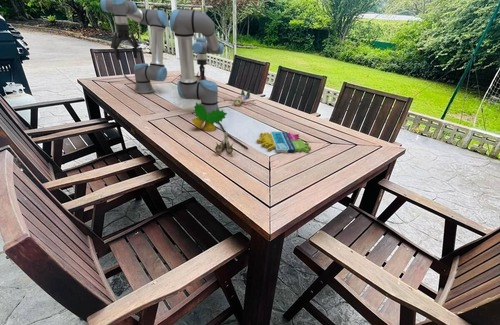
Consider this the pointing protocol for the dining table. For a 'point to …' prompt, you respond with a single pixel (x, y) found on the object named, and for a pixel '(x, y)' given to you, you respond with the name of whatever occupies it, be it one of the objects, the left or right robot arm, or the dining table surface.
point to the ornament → (207, 117)
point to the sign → (283, 142)
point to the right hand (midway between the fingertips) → (202, 88)
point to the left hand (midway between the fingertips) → (127, 58)
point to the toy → (241, 99)
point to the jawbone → (224, 145)
